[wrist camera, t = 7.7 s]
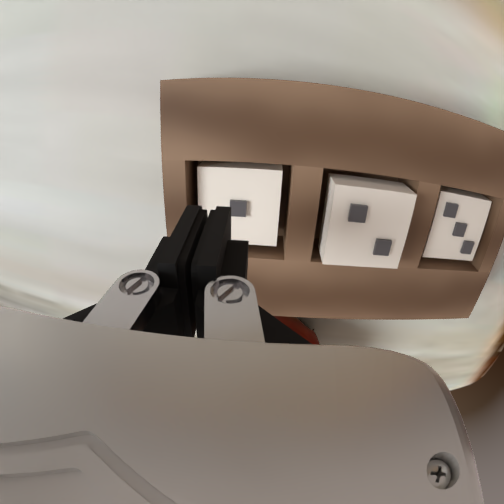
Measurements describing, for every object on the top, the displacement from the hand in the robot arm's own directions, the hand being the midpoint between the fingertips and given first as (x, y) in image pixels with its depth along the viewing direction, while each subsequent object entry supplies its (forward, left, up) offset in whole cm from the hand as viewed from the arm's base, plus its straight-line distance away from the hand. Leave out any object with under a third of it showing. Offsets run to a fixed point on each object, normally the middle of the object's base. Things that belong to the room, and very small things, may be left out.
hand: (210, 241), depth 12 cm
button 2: (+1, +8, -6) cm, 10 cm away
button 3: (+1, +15, -7) cm, 16 cm away
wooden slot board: (+1, +8, -10) cm, 12 cm away
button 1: (+1, +1, -7) cm, 7 cm away
